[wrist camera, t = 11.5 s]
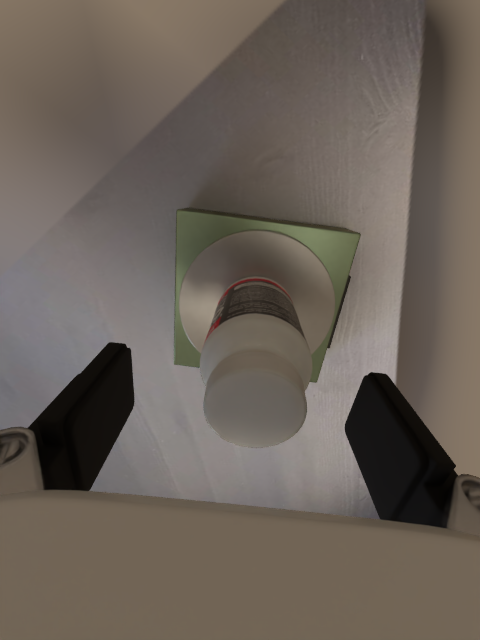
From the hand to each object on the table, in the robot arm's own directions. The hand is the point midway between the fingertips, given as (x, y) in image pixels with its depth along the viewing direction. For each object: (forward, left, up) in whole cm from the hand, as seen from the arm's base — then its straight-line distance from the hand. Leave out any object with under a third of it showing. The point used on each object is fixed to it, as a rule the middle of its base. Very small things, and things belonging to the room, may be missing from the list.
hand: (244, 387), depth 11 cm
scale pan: (+1, 0, -10) cm, 10 cm away
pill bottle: (+1, 0, -9) cm, 9 cm away
